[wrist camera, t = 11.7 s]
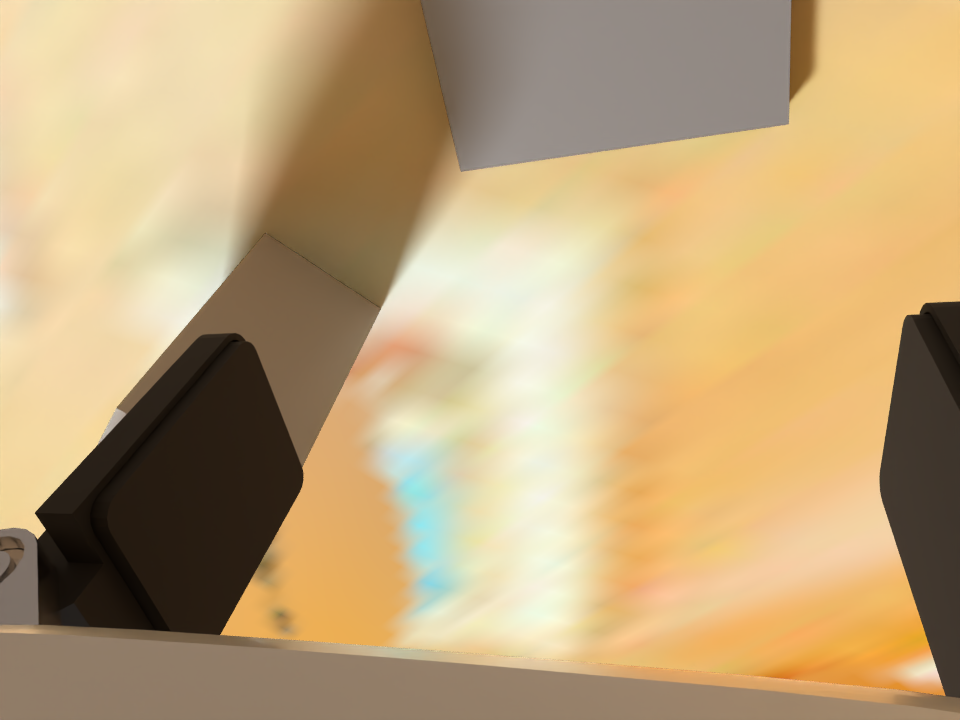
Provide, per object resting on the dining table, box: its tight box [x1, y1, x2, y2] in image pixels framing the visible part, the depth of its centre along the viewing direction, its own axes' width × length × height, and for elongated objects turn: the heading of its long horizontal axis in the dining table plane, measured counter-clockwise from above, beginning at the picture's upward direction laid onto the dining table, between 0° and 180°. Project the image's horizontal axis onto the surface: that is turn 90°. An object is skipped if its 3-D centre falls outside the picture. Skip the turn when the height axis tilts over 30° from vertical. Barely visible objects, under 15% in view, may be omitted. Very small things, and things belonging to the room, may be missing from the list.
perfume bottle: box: [98, 233, 381, 467], centre depth 33 cm, size 7×7×18 cm
